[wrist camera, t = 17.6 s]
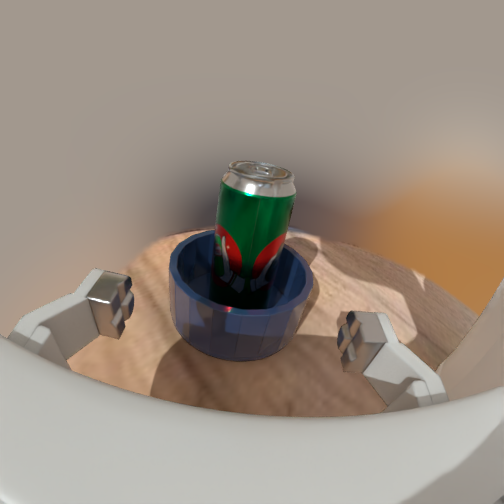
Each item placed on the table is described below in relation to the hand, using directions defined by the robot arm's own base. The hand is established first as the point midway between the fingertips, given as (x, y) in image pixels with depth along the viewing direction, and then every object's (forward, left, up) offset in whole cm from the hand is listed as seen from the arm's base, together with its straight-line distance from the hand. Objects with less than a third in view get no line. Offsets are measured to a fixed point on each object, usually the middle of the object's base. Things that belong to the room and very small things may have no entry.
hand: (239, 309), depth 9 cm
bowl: (+2, +10, -10) cm, 14 cm away
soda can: (+3, +10, -10) cm, 14 cm away
